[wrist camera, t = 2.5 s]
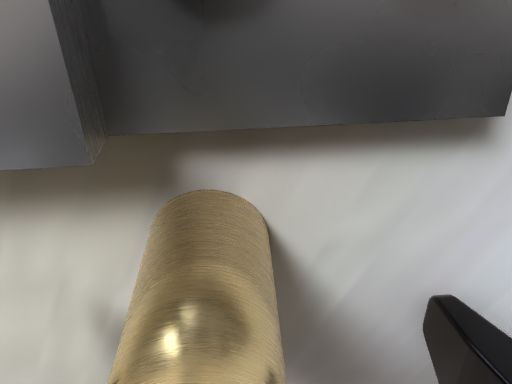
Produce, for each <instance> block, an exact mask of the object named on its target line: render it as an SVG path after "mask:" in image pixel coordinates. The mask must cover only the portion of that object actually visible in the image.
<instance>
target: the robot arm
mask: <svg viewBox="0 0 512 384" xmlns="http://www.w3.org/2000/svg"><path fill="white" fill-rule="evenodd" d="M423 333H424V337H425V340H426V344H427V347H428V350H429V353H430V356H431V360H432V363H433V366H434V369H435V372H436V376H437V379H438V382H439V384H512V338H511V337H509V336H508V335H506V334H505V333H504V332H502V331H501V330H500V329H498V328H497V327H496V326H494V325H493V324H492V323H490V322H489V321H487V320H486V319H485V318H483V317H482V316H481V315H479V314H478V313H477V312H475V311H474V310H472V309H471V308H470V307H468V306H467V305H466V304H464V303H463V302H462V301H460V300H459V299H458V298H456V297H455V296H452V295H434V296H432V297H431V298H430V299H429V301H428V305H427V309H426V313H425V317H424V322H423Z"/></svg>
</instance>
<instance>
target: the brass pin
mask: <svg viewBox="0 0 512 384" xmlns="http://www.w3.org/2000/svg"><path fill="white" fill-rule="evenodd" d="M108 384H287V381H286V373H285V365H284V357H283V349H282V341H281V333H280V325H279V317H278V309H277V300H276V292H275V284H274V276H273V268H272V260H271V252H270V244H269V236H268V230H267V226H266V223H265V221H264V219H263V217H262V216H261V214H260V213H259V212H258V210H257V209H256V208H255V207H254V206H253V205H251V204H250V203H249V202H247V201H246V200H244V199H243V198H241V197H239V196H237V195H234V194H231V193H228V192H224V191H218V190H198V191H193V192H188V193H186V194H183V195H180V196H178V197H176V198H174V199H173V200H171V201H170V202H168V203H167V204H166V205H165V206H164V207H162V208H161V210H160V211H159V212H158V213H157V215H156V217H155V218H154V221H153V223H152V226H151V230H150V233H149V237H148V241H147V244H146V248H145V251H144V255H143V259H142V262H141V266H140V270H139V273H138V277H137V280H136V284H135V288H134V291H133V295H132V299H131V302H130V306H129V310H128V313H127V317H126V320H125V324H124V328H123V331H122V335H121V339H120V342H119V346H118V349H117V353H116V357H115V360H114V364H113V368H112V371H111V375H110V379H109V382H108Z"/></svg>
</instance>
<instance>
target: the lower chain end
mask: <svg viewBox="0 0 512 384" xmlns="http://www.w3.org/2000/svg"><path fill="white" fill-rule="evenodd" d="M79 3H80V8H81V12H82V16H83V21H84V25H85V30H86V34H87V38H88V43H89V47H90V51H91V56H92V60H93V64H94V69H95V73H96V77H97V82H98V86H99V90H100V95H101V99H102V103H103V108H104V112H105V117H106V121H107V125H108V130H109V134H110V136H119V135H139V134H158V133H178V132H198V131H218V130H238V129H258V128H277V127H297V126H317V125H337V124H357V123H376V122H396V121H416V120H436V119H456V118H476V117H495V116H505V112H506V109H507V105H508V102H509V98H510V95H511V91H512V0H79Z"/></svg>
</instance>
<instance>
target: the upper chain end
mask: <svg viewBox="0 0 512 384" xmlns="http://www.w3.org/2000/svg"><path fill="white" fill-rule="evenodd" d="M109 137H110V134H109V130H108V125H107V121H106V117H105V112H104V108H103V103H102V99H101V95H100V90H99V86H98V82H97V77H96V73H95V69H94V64H93V60H92V56H91V51H90V47H89V43H88V38H87V34H86V30H85V25H84V21H83V16H82V12H81V8H80V3H79V0H0V170H19V169H39V168H58V167H77V166H92V165H93V163H94V161H95V160H96V158H97V156H98V155H99V153H100V152H101V150H102V148H103V147H104V145H105V143H106V142H107V140H108V138H109Z"/></svg>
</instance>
